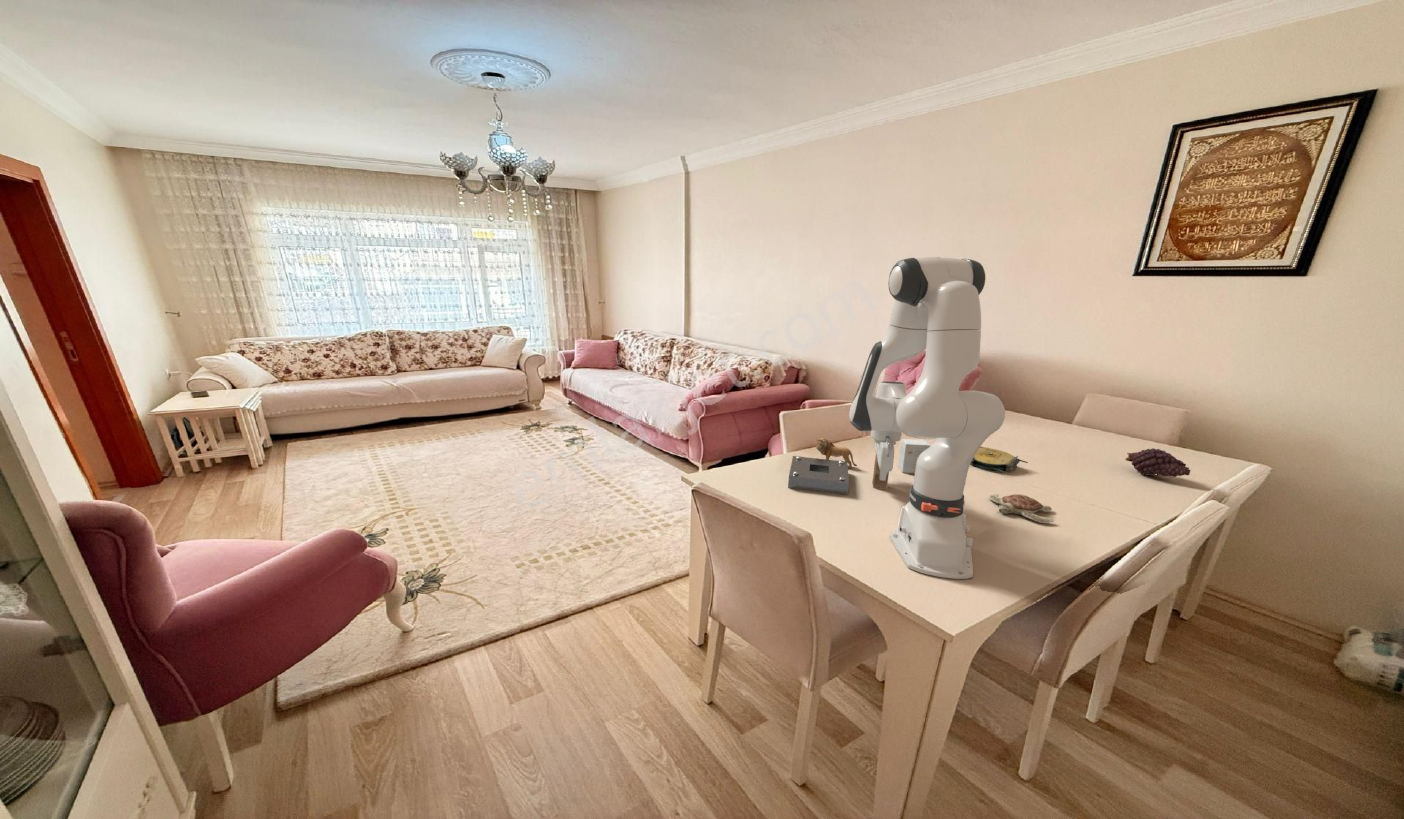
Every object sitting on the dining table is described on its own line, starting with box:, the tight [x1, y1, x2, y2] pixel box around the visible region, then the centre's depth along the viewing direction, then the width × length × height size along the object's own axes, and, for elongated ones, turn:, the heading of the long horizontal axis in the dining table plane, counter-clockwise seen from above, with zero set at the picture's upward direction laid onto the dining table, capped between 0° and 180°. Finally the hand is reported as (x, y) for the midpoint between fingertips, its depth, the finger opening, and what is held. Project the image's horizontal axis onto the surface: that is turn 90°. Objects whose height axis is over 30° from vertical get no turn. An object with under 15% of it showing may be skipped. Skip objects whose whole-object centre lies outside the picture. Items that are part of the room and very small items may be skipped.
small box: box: [897, 438, 931, 474], centre depth 169 cm, size 8×6×10 cm
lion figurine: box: [815, 437, 858, 469], centre depth 173 cm, size 15×5×9 cm, turn 71°
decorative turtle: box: [988, 493, 1054, 524], centre depth 142 cm, size 18×17×5 cm
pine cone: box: [1124, 447, 1191, 478], centre depth 168 cm, size 18×10×10 cm, turn 27°
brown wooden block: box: [871, 453, 890, 490], centre depth 156 cm, size 4×4×10 cm
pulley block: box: [970, 445, 1029, 475], centre depth 180 cm, size 14×6×30 cm
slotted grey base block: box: [787, 455, 850, 496], centre depth 160 cm, size 18×18×5 cm
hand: (880, 473), depth 156 cm, fingers open, 8 cm apart
